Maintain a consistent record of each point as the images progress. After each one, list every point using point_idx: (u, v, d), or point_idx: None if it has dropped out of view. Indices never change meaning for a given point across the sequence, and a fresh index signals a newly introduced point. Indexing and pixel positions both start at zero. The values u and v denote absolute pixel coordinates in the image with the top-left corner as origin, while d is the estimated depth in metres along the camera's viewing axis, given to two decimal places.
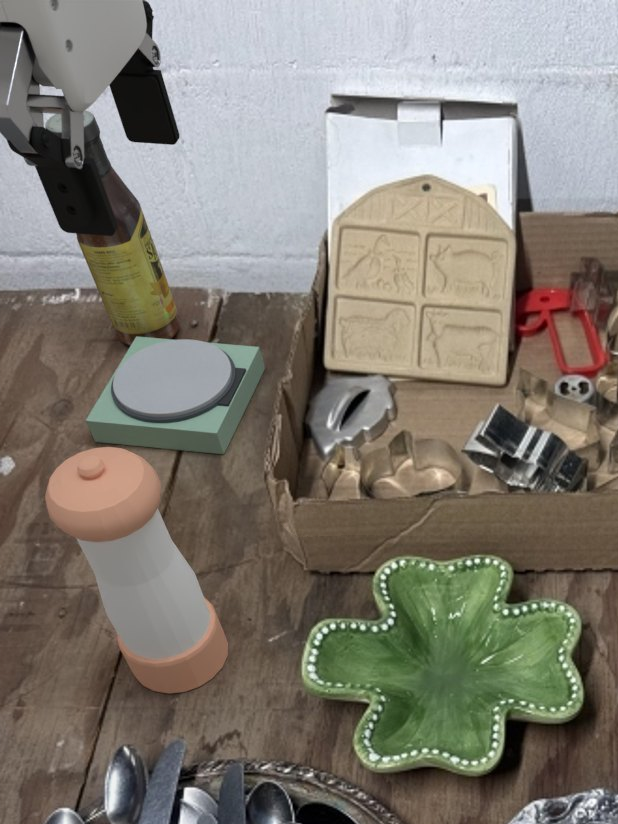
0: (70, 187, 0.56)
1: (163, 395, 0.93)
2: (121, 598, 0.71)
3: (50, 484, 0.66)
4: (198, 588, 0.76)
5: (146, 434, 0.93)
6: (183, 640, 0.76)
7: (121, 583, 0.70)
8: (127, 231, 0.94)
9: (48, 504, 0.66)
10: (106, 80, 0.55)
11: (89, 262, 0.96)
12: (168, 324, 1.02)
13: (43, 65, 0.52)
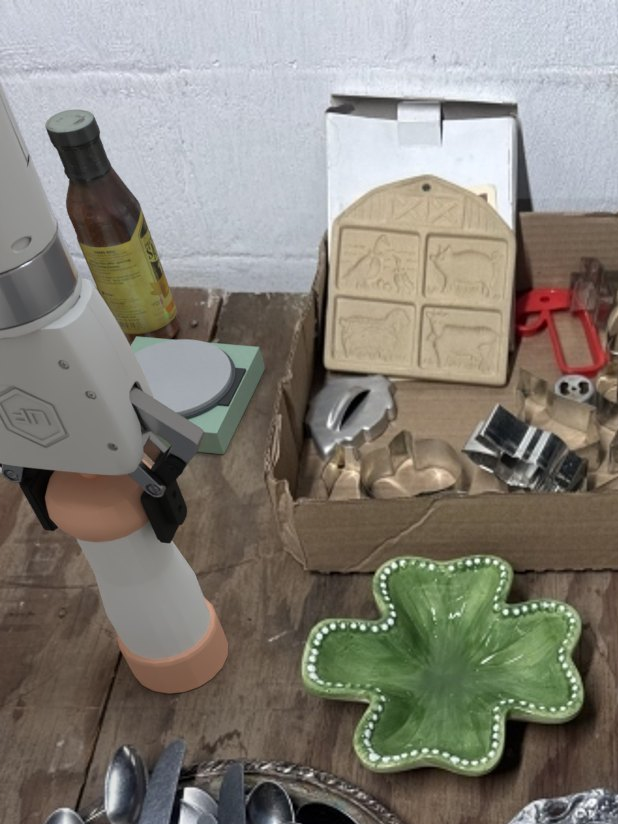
0: (176, 489, 0.67)
1: (163, 395, 0.93)
2: (121, 598, 0.71)
3: (50, 484, 0.66)
4: (198, 588, 0.76)
5: None
6: (183, 640, 0.76)
7: (121, 583, 0.70)
8: (127, 231, 0.94)
9: (48, 504, 0.66)
10: None
11: (89, 262, 0.96)
12: (168, 324, 1.02)
13: None
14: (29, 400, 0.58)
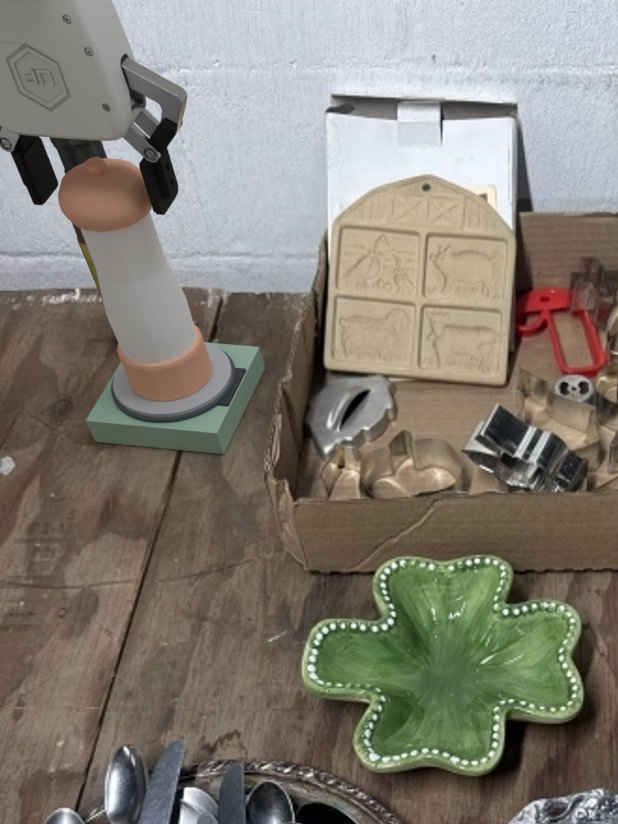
0: (169, 163, 0.79)
1: None
2: (120, 296, 0.86)
3: (62, 182, 0.80)
4: (185, 301, 0.90)
5: (146, 434, 0.93)
6: (173, 346, 0.90)
7: (120, 280, 0.84)
8: None
9: (60, 198, 0.80)
10: None
11: (89, 262, 0.96)
12: None
13: None
14: (38, 59, 0.71)
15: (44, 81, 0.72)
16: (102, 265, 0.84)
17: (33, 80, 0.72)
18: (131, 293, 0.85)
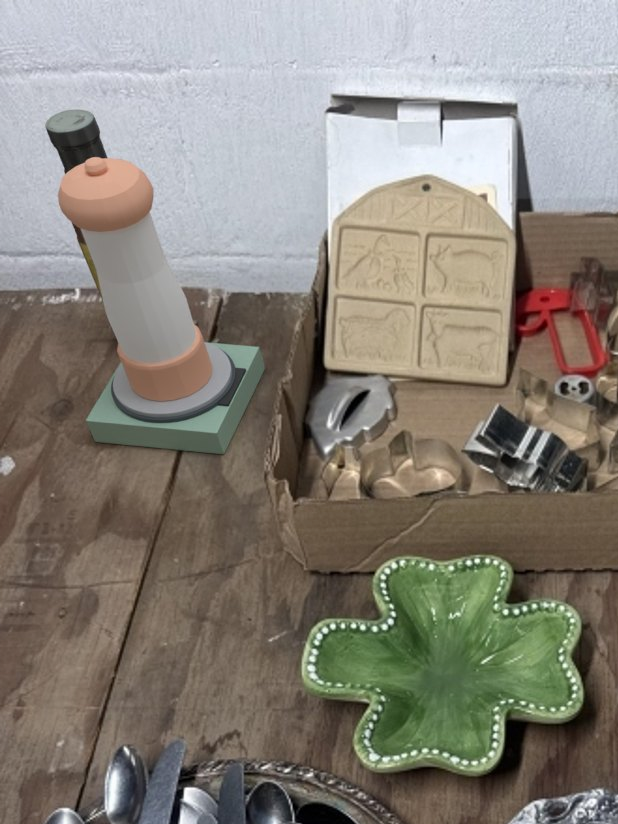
0: None
1: None
2: (120, 296, 0.86)
3: (62, 182, 0.80)
4: (185, 301, 0.90)
5: (146, 434, 0.93)
6: (173, 346, 0.90)
7: (120, 280, 0.84)
8: None
9: (60, 198, 0.80)
10: None
11: (89, 262, 0.96)
12: None
13: None
14: None
15: None
16: (102, 265, 0.84)
17: None
18: (131, 293, 0.85)
